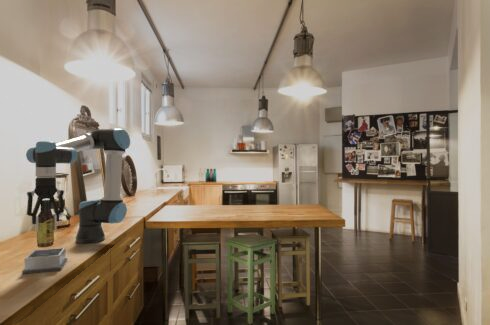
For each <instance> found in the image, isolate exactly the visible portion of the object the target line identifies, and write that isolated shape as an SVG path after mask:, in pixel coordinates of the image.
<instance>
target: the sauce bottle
mask: <svg viewBox="0 0 490 325" xmlns="http://www.w3.org/2000/svg"><path fill="white" fill-rule="evenodd" d="M51 207H52V204H51V200H50V199H43V200H42V202H41V204H40V208H39V210H40V212H39V213H38V215H37V216H38V232H36V244H37V246H36V247H37V248H48V247H52V246H54V242H55V241H54V240H55V230H54V217H53V212H52V208H51Z"/></svg>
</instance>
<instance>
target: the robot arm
mask: <svg viewBox="0 0 490 325" xmlns="http://www.w3.org/2000/svg"><path fill="white" fill-rule="evenodd" d="M130 145H131V138H130V134H129V133H128V131H127V130H126V129H123V128H99V129H94V130H92V131H88V132H86V133H84V132H83V133H82V134H81V135H80V136H78V137H73V138H70V139H67V140H63V141H62V140H61V141H59V142H55V141H45V140H44V141H37V142H36V144H35V147H30V148H29V149H27V151H26V154H25V157H26V160H27V161H28V162H30V163H32V164H35V177H36V178H35V188H34V189H33V190H32V191H27V192H26V196H27V206H26V207H27V209H26V215H27V216H28V217H31V223H32V225H34V232H35V233H37V232H38V215H37V214H38V212H39V210H40V208H41V202H42V200H51V207H52V209H53V212H54V214H53V213H52V214H53V217H54V231H55V230H57V227H58V226H57V224H58V223H59V222H60V215H61V213H62V214H63V213H64V211H65V208H64V193H65V191H64V190H63V189H57V178H56V176H57V164H66V165H67V164H68V165H69V164H74V163H75V162H77V160H78V157H79V156H78V155H79V154H78V153H79V152H81V151H90V150H98V149H99V150H103V153H104V154H105V156H106V157H105V170H104V171H105V174H104V188H103V189H104V193H103V197H102V198H101V199H99V198H98V199H92V200H84V201H81V202H80V203H79V205H78V230H77V234H76V236H75V243H77V244H91V243H93V244H94V243H98V242H102V241H104V240H106V236H105V231H104V229H103V226H102V223H103V224H119V223H122V221H124V219H125V218H126V215H127V212H128V207H127V204H126V203H124V198H122V197H121V189H122V170H123V168H122V167H123V155H124V154H125V153H126V150H127V149H129V148H130ZM56 193H57V194H56ZM35 195H36V196H37V198H36V199H37V200H36V203H35V204H34V208H33V202H34V201H33V199H34V198H33V197H34V196H35ZM55 195H57V196H58V205H57V203H56V199H55ZM32 209H33V210H32ZM57 222H58V223H57Z"/></svg>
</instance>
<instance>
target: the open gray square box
mask: <svg viewBox="0 0 490 325" xmlns="http://www.w3.org/2000/svg"><path fill="white" fill-rule="evenodd" d="M66 253H67V252H66V247H58V248H45V249H44V248H43V249H33V250H32V251H31V252H29V254H28V255H27V256H25V257H24V269H22V272H21V274H22V275H29V274H38V273H49V272H60V271H62V270H63V268H64V267H65V265H66V264H65V263H67V262H68V261H67V260H69V259H68V257H66V256H67V255H66ZM59 270H60V271H59Z"/></svg>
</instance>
